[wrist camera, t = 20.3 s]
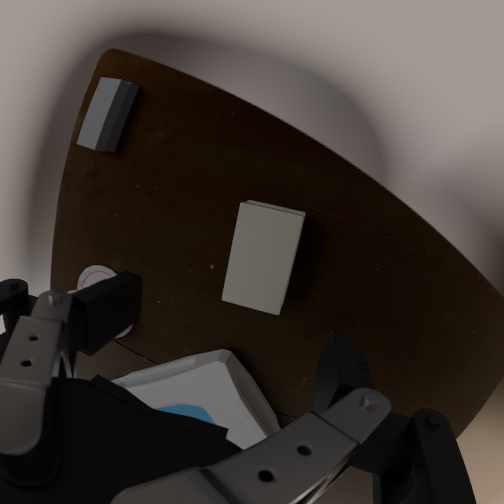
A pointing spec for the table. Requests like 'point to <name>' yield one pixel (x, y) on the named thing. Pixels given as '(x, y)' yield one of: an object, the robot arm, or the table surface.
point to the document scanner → (207, 394)
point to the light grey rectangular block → (261, 257)
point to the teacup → (93, 276)
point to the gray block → (107, 114)
